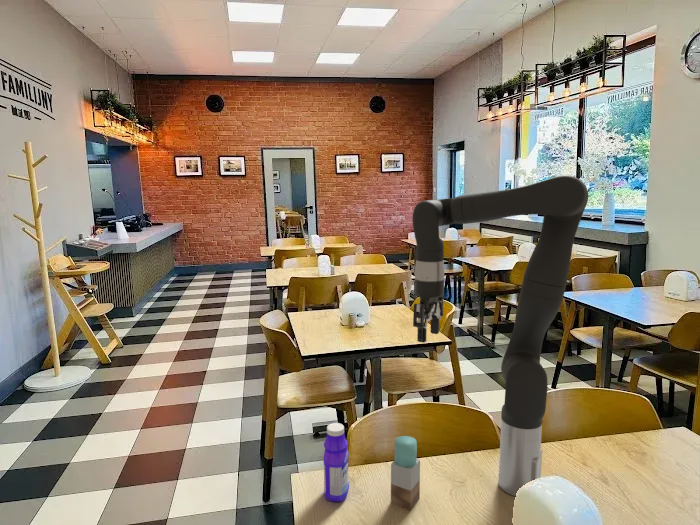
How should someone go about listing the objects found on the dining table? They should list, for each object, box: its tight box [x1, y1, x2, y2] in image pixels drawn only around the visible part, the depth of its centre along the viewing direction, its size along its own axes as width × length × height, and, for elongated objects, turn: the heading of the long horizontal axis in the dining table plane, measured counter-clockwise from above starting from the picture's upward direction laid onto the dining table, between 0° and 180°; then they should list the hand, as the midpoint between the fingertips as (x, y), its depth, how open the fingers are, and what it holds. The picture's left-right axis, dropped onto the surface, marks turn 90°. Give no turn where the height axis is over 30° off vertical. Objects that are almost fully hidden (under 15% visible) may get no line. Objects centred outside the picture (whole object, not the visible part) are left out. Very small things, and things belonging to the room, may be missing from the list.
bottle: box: [323, 422, 350, 503], centre depth 114 cm, size 7×6×17 cm
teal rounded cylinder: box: [394, 435, 418, 468], centre depth 110 cm, size 5×5×5 cm
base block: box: [390, 479, 421, 511], centre depth 112 cm, size 5×5×5 cm
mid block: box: [390, 458, 421, 491], centre depth 111 cm, size 5×5×5 cm
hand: (428, 337), depth 127 cm, fingers open, 8 cm apart
